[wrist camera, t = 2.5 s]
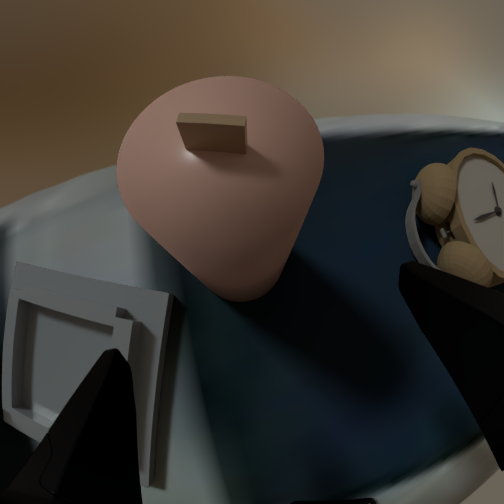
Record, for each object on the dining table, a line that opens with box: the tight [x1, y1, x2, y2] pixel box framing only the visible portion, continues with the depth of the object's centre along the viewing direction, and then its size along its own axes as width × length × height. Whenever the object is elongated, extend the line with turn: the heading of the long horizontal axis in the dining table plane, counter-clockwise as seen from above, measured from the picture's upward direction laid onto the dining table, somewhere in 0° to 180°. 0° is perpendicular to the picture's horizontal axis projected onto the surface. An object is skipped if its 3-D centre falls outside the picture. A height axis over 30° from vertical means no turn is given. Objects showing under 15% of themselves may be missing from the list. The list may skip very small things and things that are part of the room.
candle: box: [117, 76, 324, 302], centre depth 13 cm, size 6×6×14 cm
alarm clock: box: [405, 148, 504, 288], centre depth 19 cm, size 11×5×15 cm
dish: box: [2, 261, 174, 487], centre depth 17 cm, size 14×14×3 cm
